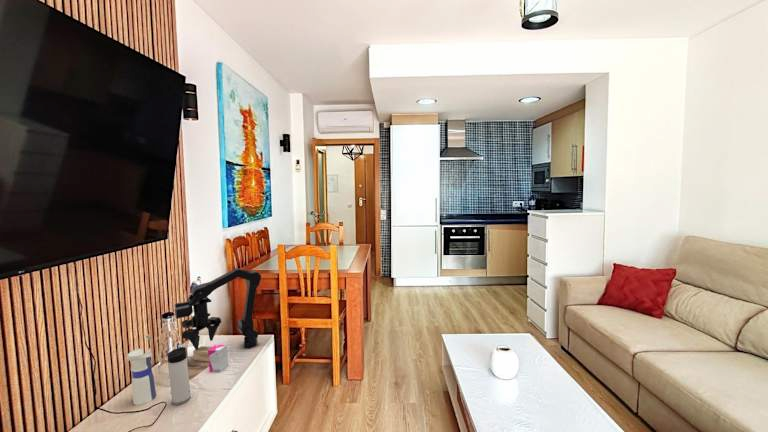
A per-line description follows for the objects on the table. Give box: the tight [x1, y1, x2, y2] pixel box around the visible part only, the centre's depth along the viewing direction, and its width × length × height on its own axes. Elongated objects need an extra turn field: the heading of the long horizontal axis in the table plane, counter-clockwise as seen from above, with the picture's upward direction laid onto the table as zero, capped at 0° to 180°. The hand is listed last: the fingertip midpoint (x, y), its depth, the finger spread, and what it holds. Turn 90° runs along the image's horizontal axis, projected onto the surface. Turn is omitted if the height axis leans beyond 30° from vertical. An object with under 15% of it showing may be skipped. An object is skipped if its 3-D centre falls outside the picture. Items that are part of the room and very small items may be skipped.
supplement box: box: [208, 344, 229, 373], centre depth 155 cm, size 6×6×12 cm
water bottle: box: [125, 333, 158, 406], centre depth 137 cm, size 8×9×25 cm
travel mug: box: [167, 346, 192, 406], centre depth 135 cm, size 6×7×20 cm
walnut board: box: [187, 357, 209, 381], centre depth 159 cm, size 22×14×2 cm, turn 165°
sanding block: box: [192, 345, 212, 363], centre depth 165 cm, size 5×8×5 cm, turn 76°
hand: (204, 344), depth 164 cm, fingers open, 9 cm apart
